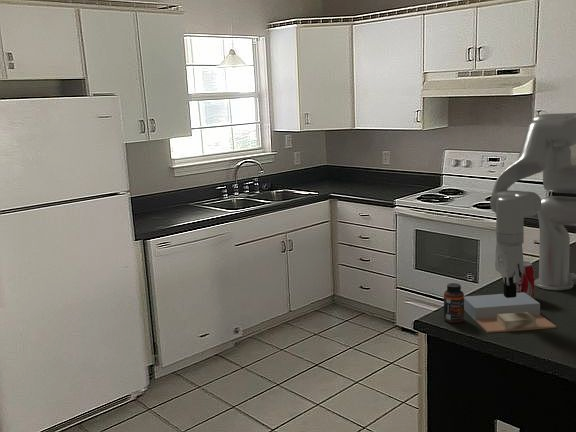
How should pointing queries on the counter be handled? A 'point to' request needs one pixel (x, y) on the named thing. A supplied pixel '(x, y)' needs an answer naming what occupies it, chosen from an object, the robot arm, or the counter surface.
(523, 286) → the soda can
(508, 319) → the birch tile
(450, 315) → the supplement bottle
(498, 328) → the mat
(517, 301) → the light blue-gray block
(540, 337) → the counter surface
